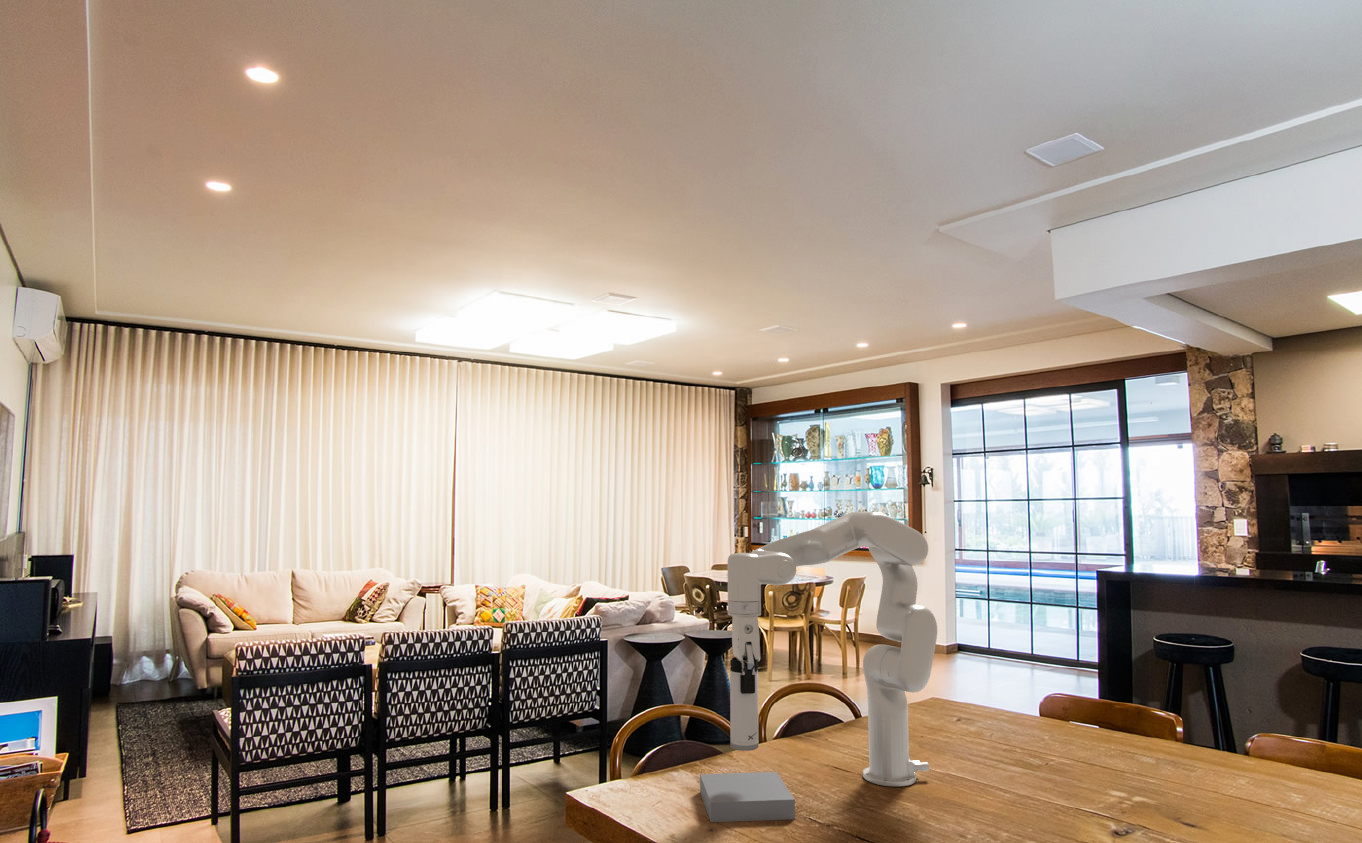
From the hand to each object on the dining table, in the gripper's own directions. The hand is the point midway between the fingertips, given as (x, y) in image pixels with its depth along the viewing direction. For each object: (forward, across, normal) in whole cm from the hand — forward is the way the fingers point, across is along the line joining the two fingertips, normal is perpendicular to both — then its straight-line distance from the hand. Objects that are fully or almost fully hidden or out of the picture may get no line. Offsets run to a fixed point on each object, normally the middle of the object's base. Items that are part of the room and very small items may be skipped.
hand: (744, 688), depth 182 cm
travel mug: (+13, 0, 0) cm, 13 cm away
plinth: (+25, 0, 0) cm, 25 cm away
